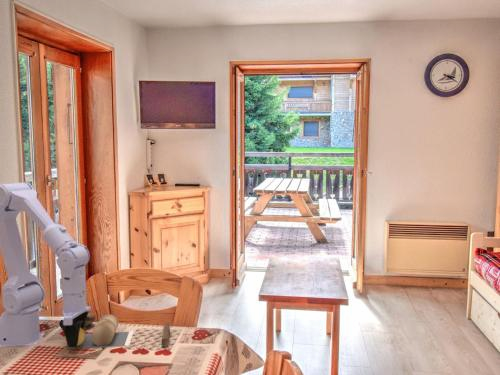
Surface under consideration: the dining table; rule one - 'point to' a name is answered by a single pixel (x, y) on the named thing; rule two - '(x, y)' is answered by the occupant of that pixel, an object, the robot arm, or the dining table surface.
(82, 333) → the ball
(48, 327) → the dining table surface
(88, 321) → the mushroom
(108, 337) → the roller
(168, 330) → the end rail
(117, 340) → the grey board
